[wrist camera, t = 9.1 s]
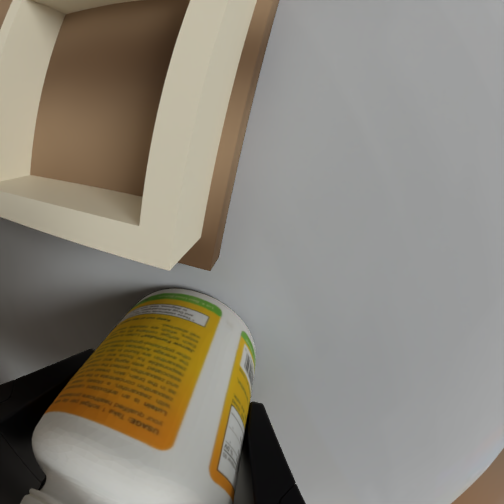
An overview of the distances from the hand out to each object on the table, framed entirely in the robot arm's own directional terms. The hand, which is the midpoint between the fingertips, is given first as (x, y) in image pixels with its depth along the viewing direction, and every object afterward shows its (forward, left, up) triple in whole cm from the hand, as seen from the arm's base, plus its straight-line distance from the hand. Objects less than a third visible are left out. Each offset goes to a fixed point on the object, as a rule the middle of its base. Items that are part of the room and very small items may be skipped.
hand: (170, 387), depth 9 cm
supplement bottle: (0, 0, -3) cm, 3 cm away
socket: (+9, +4, -1) cm, 10 cm away
